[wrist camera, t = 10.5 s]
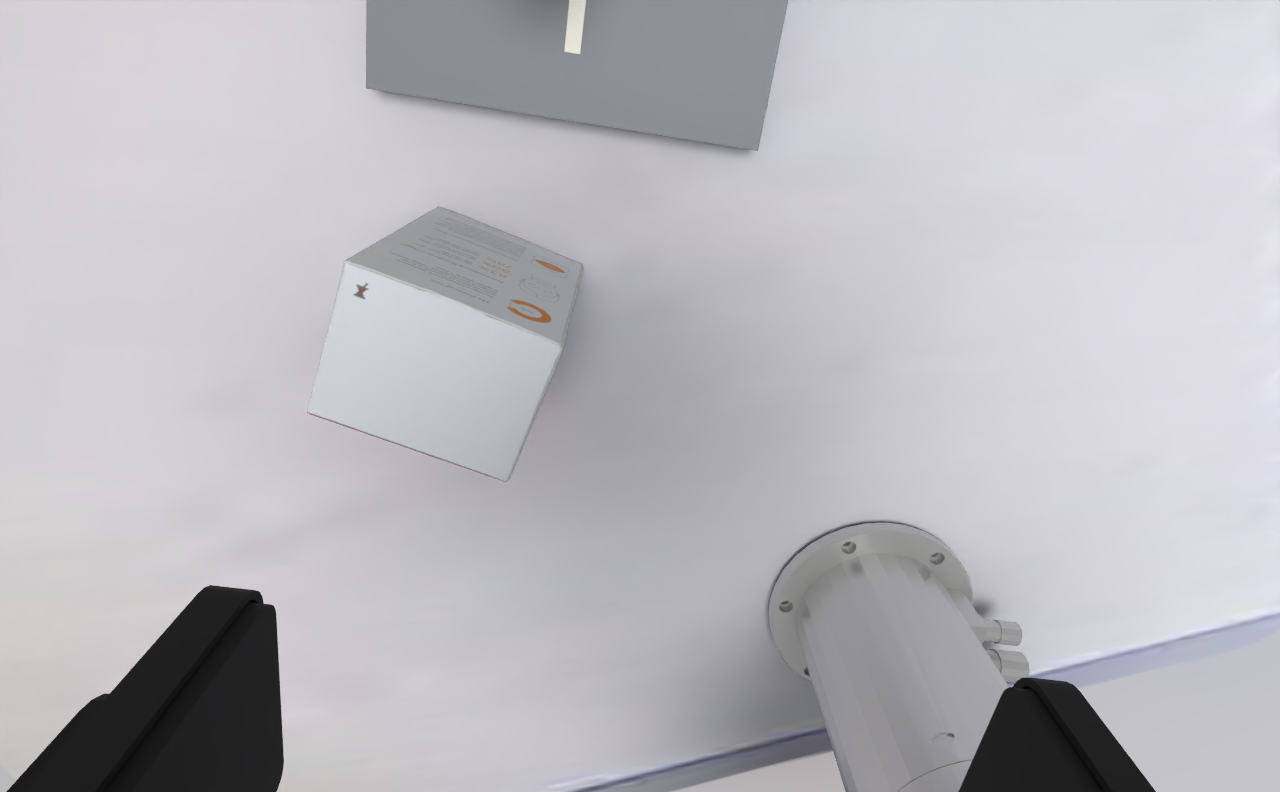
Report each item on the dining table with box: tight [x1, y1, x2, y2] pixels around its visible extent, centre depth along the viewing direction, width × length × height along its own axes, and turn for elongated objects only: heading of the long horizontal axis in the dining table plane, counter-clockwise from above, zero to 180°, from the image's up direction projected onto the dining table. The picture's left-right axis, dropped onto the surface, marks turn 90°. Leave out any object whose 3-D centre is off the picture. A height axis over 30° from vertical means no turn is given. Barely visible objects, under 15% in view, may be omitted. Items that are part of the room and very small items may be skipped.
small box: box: [307, 207, 583, 482], centre depth 32 cm, size 8×6×13 cm
